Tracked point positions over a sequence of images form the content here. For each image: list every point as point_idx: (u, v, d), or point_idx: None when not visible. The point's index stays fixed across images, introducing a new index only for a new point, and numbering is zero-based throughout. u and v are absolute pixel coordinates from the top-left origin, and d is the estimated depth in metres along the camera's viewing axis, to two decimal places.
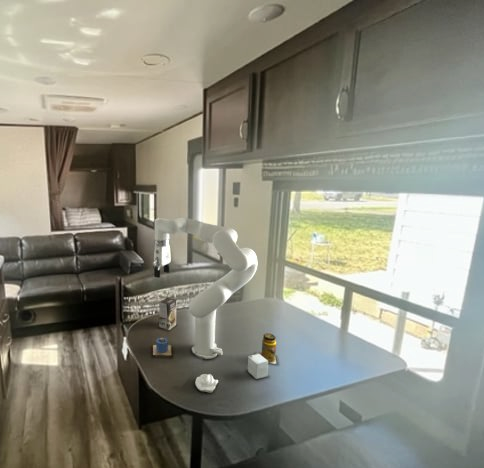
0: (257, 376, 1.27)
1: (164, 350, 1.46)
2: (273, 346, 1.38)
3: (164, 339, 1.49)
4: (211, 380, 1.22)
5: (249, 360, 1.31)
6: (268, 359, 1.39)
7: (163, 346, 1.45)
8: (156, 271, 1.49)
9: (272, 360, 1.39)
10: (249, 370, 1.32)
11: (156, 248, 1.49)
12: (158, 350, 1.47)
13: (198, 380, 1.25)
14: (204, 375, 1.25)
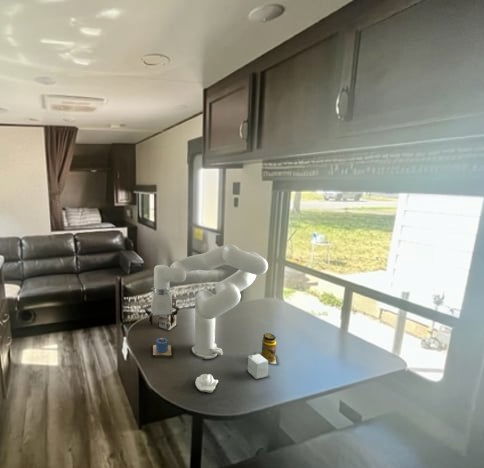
0: (257, 376, 1.27)
1: (164, 350, 1.46)
2: (273, 346, 1.38)
3: (164, 339, 1.49)
4: (211, 380, 1.22)
5: (249, 360, 1.31)
6: (268, 359, 1.39)
7: (163, 346, 1.45)
8: None
9: (272, 360, 1.39)
10: (249, 370, 1.32)
11: (152, 294, 1.45)
12: (158, 350, 1.47)
13: (198, 380, 1.25)
14: (204, 375, 1.25)
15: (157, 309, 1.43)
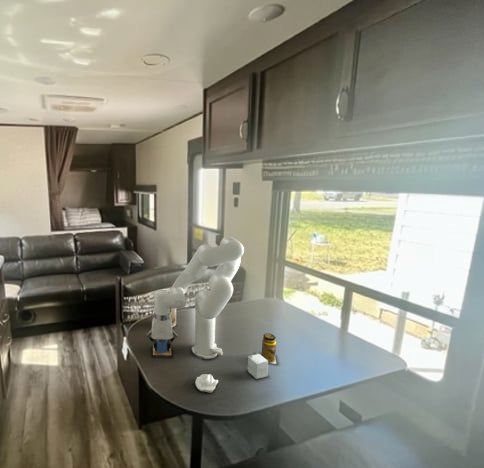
0: (257, 376, 1.27)
1: (164, 350, 1.46)
2: (273, 346, 1.38)
3: (164, 339, 1.49)
4: (211, 380, 1.22)
5: (249, 360, 1.31)
6: (268, 359, 1.39)
7: (163, 346, 1.45)
8: None
9: (272, 360, 1.39)
10: (249, 370, 1.32)
11: None
12: (158, 350, 1.47)
13: (198, 380, 1.25)
14: (204, 375, 1.25)
15: (158, 334, 1.45)
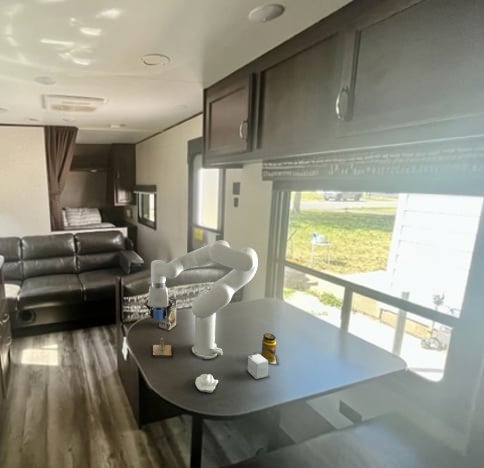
0: (257, 376, 1.27)
1: (160, 317, 1.53)
2: (273, 346, 1.38)
3: (160, 308, 1.55)
4: (211, 380, 1.22)
5: (249, 360, 1.31)
6: (268, 359, 1.39)
7: (159, 313, 1.52)
8: (150, 311, 1.55)
9: (272, 360, 1.39)
10: (249, 370, 1.32)
11: (149, 288, 1.53)
12: (154, 317, 1.53)
13: (198, 380, 1.25)
14: (204, 375, 1.25)
15: (154, 302, 1.51)
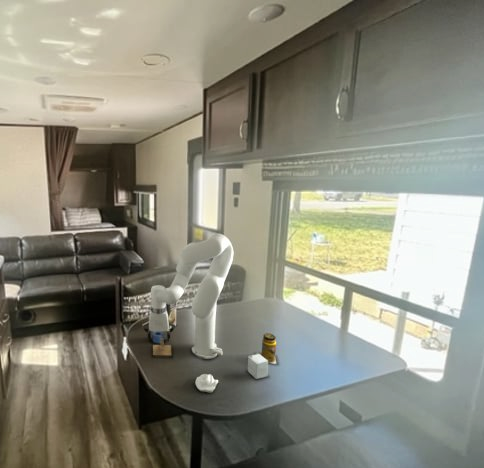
0: (257, 376, 1.27)
1: None
2: (273, 346, 1.38)
3: (160, 332, 1.58)
4: (211, 380, 1.22)
5: (249, 360, 1.31)
6: (268, 359, 1.39)
7: (159, 338, 1.55)
8: (147, 333, 1.57)
9: (272, 360, 1.39)
10: (249, 370, 1.32)
11: (150, 312, 1.56)
12: None
13: (198, 380, 1.25)
14: (204, 375, 1.25)
15: (154, 327, 1.54)
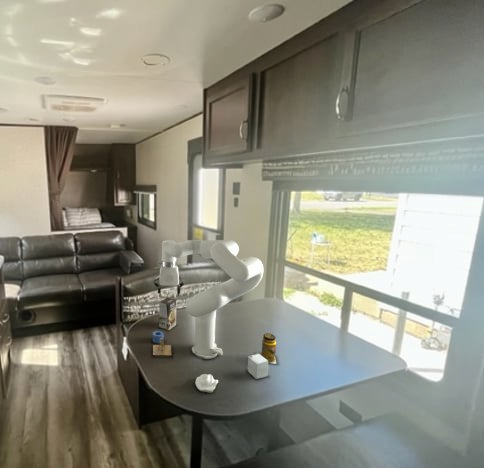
0: (257, 376, 1.27)
1: None
2: (273, 346, 1.38)
3: (160, 332, 1.58)
4: (211, 380, 1.22)
5: (249, 360, 1.31)
6: (268, 359, 1.39)
7: (159, 338, 1.55)
8: (158, 288, 1.59)
9: (272, 360, 1.39)
10: (249, 370, 1.32)
11: None
12: None
13: (198, 380, 1.25)
14: (204, 375, 1.25)
15: (165, 281, 1.55)
